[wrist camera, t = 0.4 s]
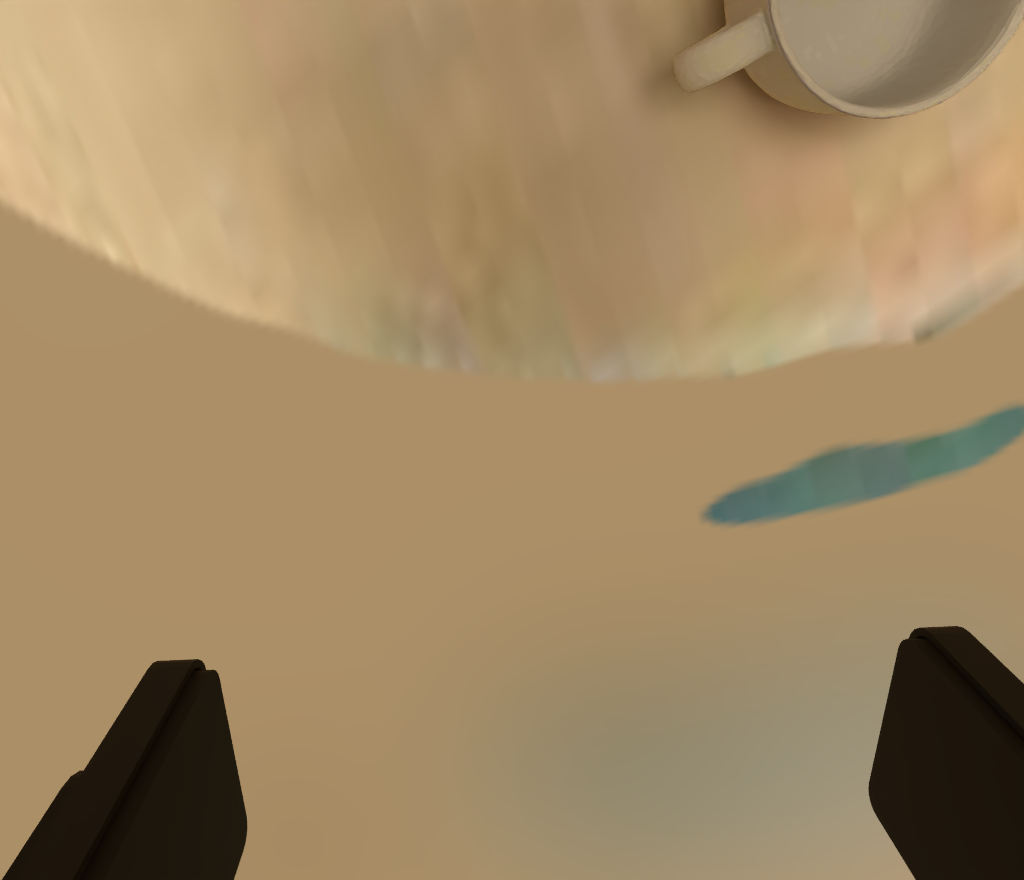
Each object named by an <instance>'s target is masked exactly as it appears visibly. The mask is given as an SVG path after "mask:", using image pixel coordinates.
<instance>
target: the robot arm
mask: <svg viewBox="0 0 1024 880" xmlns="http://www.w3.org/2000/svg"><path fill="white" fill-rule="evenodd" d="M869 797H870V801H871V805H872V807H873V810H874V812H875V814H876V816H877V817H878V819H879V821H880V822H881V824H882V825H883V827H884V829H885V830H886V832H887V834H888V835H889V837H890V839H891V840H892V842H893V843H894V845H895V847H896V848H897V850H898V852H899V853H900V855H901V856H902V858H903V860H904V861H905V863H906V864H907V866H908V868H909V869H910V871H911V873H912V874H913V876H914V878H915V879H916V880H1024V684H1023V683H1022V682H1021V681H1020V680H1019V679H1018V678H1017V677H1016V676H1015V675H1014V674H1013V673H1012V672H1011V671H1010V670H1009V669H1008V668H1007V667H1005V666H1004V665H1003V664H1002V663H1001V662H1000V661H999V660H998V659H997V658H996V657H995V656H994V655H993V654H992V653H991V652H990V651H989V650H988V649H987V648H986V647H984V646H983V645H982V644H981V643H980V642H979V641H978V640H977V639H976V638H975V637H974V636H973V635H972V634H971V633H970V632H968V631H967V630H966V629H964V628H962V627H958V626H949V627H928V628H917V629H914V631H913V632H912V633H911V634H910V637H909V639H906V640H903V641H902V642H901V643H900V646H899V648H898V652H897V657H896V662H895V666H894V671H893V676H892V680H891V684H890V689H889V694H888V699H887V703H886V708H885V712H884V717H883V721H882V726H881V731H880V735H879V740H878V744H877V749H876V753H875V758H874V762H873V767H872V772H871V776H870V781H869ZM246 836H247V816H246V811H245V806H244V801H243V795H242V790H241V785H240V780H239V775H238V770H237V765H236V760H235V755H234V750H233V744H232V739H231V734H230V729H229V724H228V720H227V714H226V709H225V704H224V699H223V694H222V689H221V683H220V679H219V675H218V673H217V672H216V671H215V670H206V668H205V665H204V663H203V662H202V661H201V660H198V659H193V660H170V661H156V662H154V663H152V665H151V666H150V667H149V668H148V670H147V671H146V673H145V675H144V676H143V678H142V679H141V681H140V682H139V684H138V686H137V687H136V689H135V690H134V692H133V693H132V695H131V697H130V698H129V700H128V701H127V703H126V704H125V706H124V708H123V709H122V711H121V712H120V714H119V716H118V717H117V719H116V720H115V722H114V723H113V725H112V727H111V728H110V730H109V731H108V733H107V735H106V736H105V738H104V739H103V741H102V742H101V744H100V746H99V747H98V749H97V751H96V752H95V754H94V755H93V757H92V758H91V760H90V761H89V763H88V765H87V766H86V768H85V769H84V771H79V772H77V773H76V774H74V775H73V776H71V777H70V778H69V780H68V781H67V782H66V783H65V784H64V786H63V787H62V788H61V790H60V791H59V793H58V794H57V796H56V797H55V799H54V801H53V802H52V804H51V805H50V807H49V808H48V810H47V811H46V813H45V814H44V816H43V818H42V819H41V821H40V822H39V824H38V825H37V827H36V828H35V830H34V831H33V833H32V834H31V836H30V837H29V839H28V840H27V842H26V844H25V845H24V847H23V848H22V850H21V851H20V853H19V855H18V856H17V857H16V859H15V860H14V862H13V864H12V865H11V867H10V868H9V870H8V871H7V873H6V875H5V876H4V877H3V879H2V880H234V877H235V874H236V871H237V868H238V865H239V862H240V859H241V856H242V853H243V850H244V846H245V842H246Z"/></svg>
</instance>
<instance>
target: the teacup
mask: <svg viewBox="0 0 1024 880" xmlns="http://www.w3.org/2000/svg"><path fill="white" fill-rule="evenodd" d="M724 11H725V19H726V25H725V26H724V27H723V28H721V29H720V30H718V31H717V32H715V33H713V34H712V35H710V36H708V37H706V38H705V39H703V40H701V41H699V42H698V43H696V44H694V45H692V46H690V47H689V48H687V49H685V50H683V51H681V52H680V53H678V54H677V55H676V56H675V58H674V59H673V70H674V74H675V77H676V79H677V81H678V83H679V86H680V87H681V88H682V89H683V91H686V92H694V91H697V90H699V89H702V88H704V87H706V86H709V85H711V84H714V83H716V82H718V81H720V80H721V79H723V78H725V77H727V76H729V75H731V74H733V73H735V72H737V71H739V70H741V69H743V68H744V69H745V71H746V72H747V74H748V75H749V76H750V78H751V79H752V80H753V81H754V82H755V83H756V84H757V85H758V86H759V87H760V88H761V89H762V90H763V91H764V92H766V93H767V94H768V95H770V96H771V97H772V98H774V99H776V100H778V101H780V102H781V103H784V104H786V105H788V106H791V107H794V108H797V109H800V110H804V111H809V112H815V113H821V114H834V115H853V116H857V117H864V118H874V119H885V118H892V117H897V116H904V115H909V114H913V113H916V112H919V111H922V110H925V109H928V108H931V107H933V106H935V105H937V104H940V103H941V102H943V101H945V100H947V99H948V98H950V97H952V96H953V95H955V94H956V93H958V92H959V91H961V90H962V89H963V88H965V87H966V86H967V85H968V84H970V83H971V82H972V81H973V80H974V79H976V78H977V77H978V76H979V75H980V74H981V73H982V72H983V71H984V70H985V69H986V68H987V67H988V66H989V65H990V64H991V63H992V62H993V60H994V59H995V58H996V57H997V56H998V55H999V54H1000V52H1001V51H1002V50H1003V49H1004V47H1005V46H1006V45H1007V43H1008V42H1009V41H1010V39H1011V38H1012V36H1013V35H1014V34H1015V32H1016V30H1017V28H1018V27H1019V25H1020V23H1021V22H1022V20H1023V18H1024V0H724Z"/></svg>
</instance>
